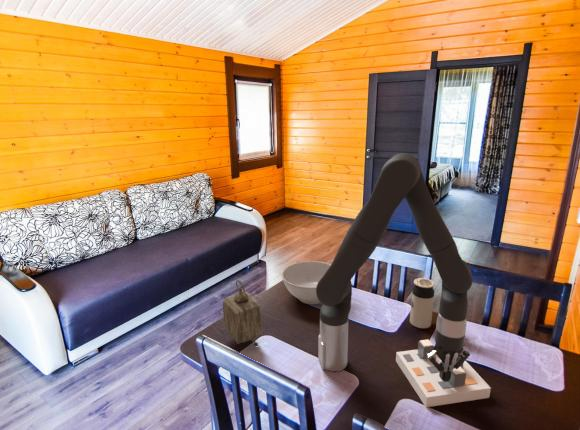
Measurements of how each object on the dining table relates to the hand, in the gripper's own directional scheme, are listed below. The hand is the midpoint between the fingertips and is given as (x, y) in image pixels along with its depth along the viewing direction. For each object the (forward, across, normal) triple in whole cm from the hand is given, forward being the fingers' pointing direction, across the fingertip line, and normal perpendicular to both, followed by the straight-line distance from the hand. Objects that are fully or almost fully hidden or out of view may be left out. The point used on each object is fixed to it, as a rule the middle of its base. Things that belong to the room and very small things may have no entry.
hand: (444, 379), depth 105 cm
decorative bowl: (+6, -27, +64) cm, 69 cm away
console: (+6, +3, +7) cm, 9 cm away
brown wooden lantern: (+6, -58, +36) cm, 69 cm away
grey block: (+2, +4, 0) cm, 4 cm away
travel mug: (+6, +12, +36) cm, 38 cm away
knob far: (+2, +1, +13) cm, 13 cm away
